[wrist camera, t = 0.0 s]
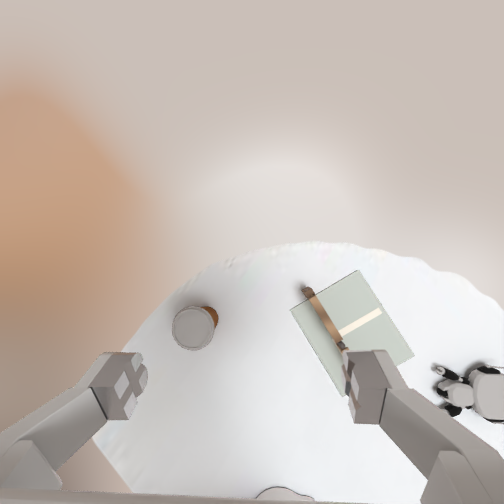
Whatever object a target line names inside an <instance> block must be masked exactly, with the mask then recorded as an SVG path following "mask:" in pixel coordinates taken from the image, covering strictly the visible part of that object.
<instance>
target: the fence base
mask: <svg viewBox="0 0 504 504" xmlns="http://www.w3.org/2000/svg"><path fill="white" fill-rule="evenodd" d="M336 345H337V346H338V348H339V350H340V351H341V353H342V354H343V351H344V350H349V348H348V347H345V344H344V343H343V342H342V341H340V342H338V343H336Z"/></svg>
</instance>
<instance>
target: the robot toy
mask: <svg viewBox="0 0 504 504" xmlns="http://www.w3.org/2000/svg"><path fill="white" fill-rule="evenodd" d="M495 368H502V369H504V367H495V366H489V365H486V366H483V367H479V368H477V370H474V371H472V372H471V373H470V375H469V377H468V379H466V378H464V377H461V378H460V377H458V376H457V375H456V374H455V373H454V372H453V371H450V370H448V369H445V368H443V367H440V366H439V367H437V369H440V371H438V370H437V369H436V372H437V373H438V374H439V375H442V376H443V377H446V378H448V379H447V380H445V381H444V382H441V383H439V384H438V387H439V388H437V393H438V394H439V395H440V396H441V397H442V398H443V399H444V400H445V401H447V402H449V403H452V404H450V405H448V406H445V409H446V410H445V409H442V410H443V411H444V412H445V413H447V414H448V415H450V416H451V417H454V416H457V415H459V414H460V413H461V411H462V409H464V408H466V409H470V408H473V409H474V410H475V411H476V412H477V413H478V414H480V415H481V416H482V417H483V418H485V419H486V420H487V421H490V422H492V423H494V424H496V423H498V424H504V423H501V422H504V374H502V373H500V371H499V370H497V369H495Z"/></svg>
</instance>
